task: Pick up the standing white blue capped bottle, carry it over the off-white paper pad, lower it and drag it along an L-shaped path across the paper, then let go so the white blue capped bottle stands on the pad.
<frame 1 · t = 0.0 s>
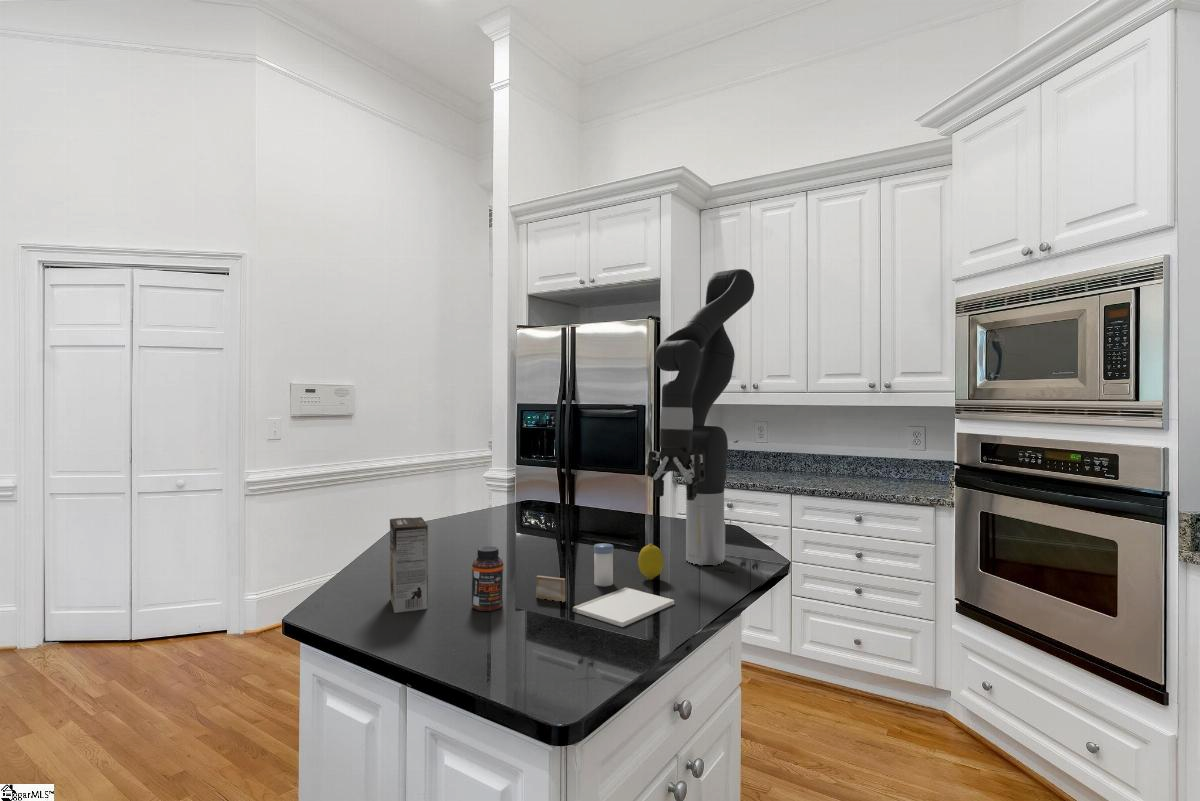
hand: (674, 498, 142), 17 cm above the counter, tool pointing down, fingers open, 8 cm apart
lemon: (650, 580, 137), on the counter
word sign: (550, 599, 123), on the counter
white blue capped bottle: (603, 583, 134), on the counter
paper pad: (624, 607, 119), on the counter
supplement bottle: (487, 608, 119), on the counter
coffee box: (408, 605, 121), on the counter
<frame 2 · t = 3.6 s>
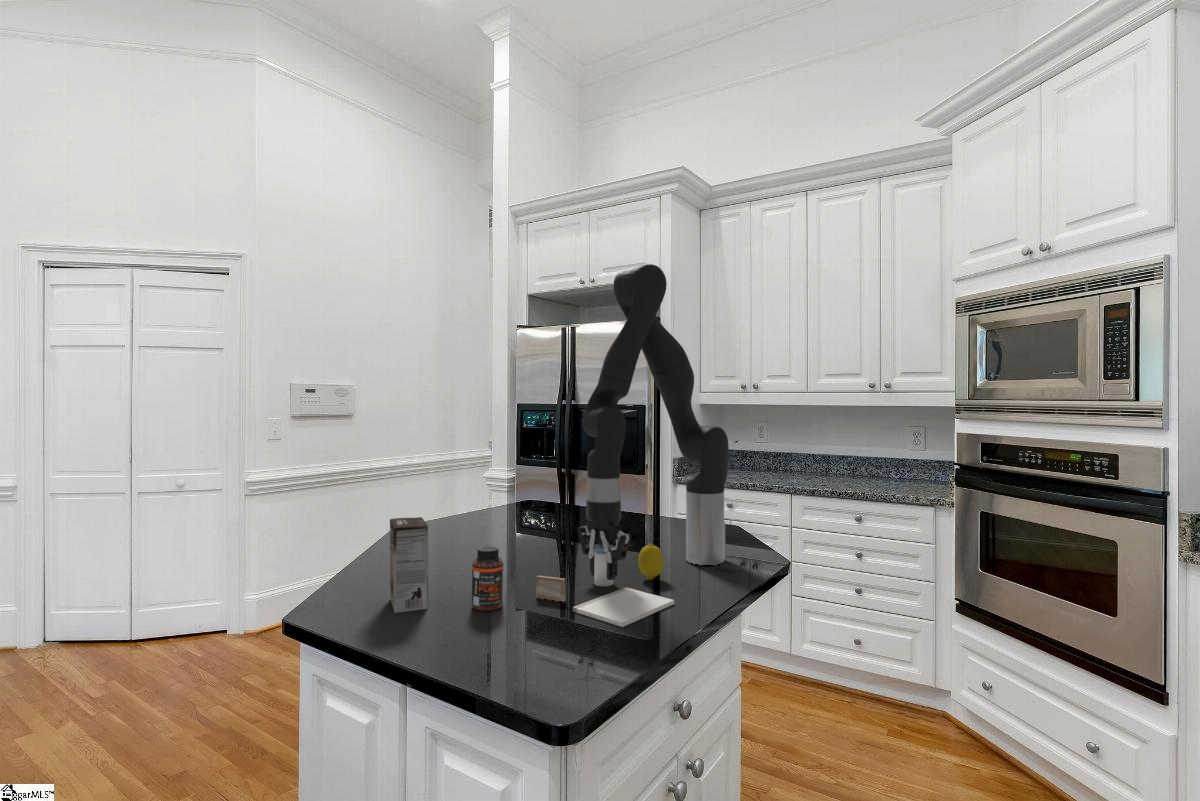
hand: (603, 576, 134), 1 cm above the counter, tool pointing down, fingers closed on white blue capped bottle, 4 cm apart
white blue capped bottle: (603, 583, 134), on the counter, touching gripper
everything else where it was.
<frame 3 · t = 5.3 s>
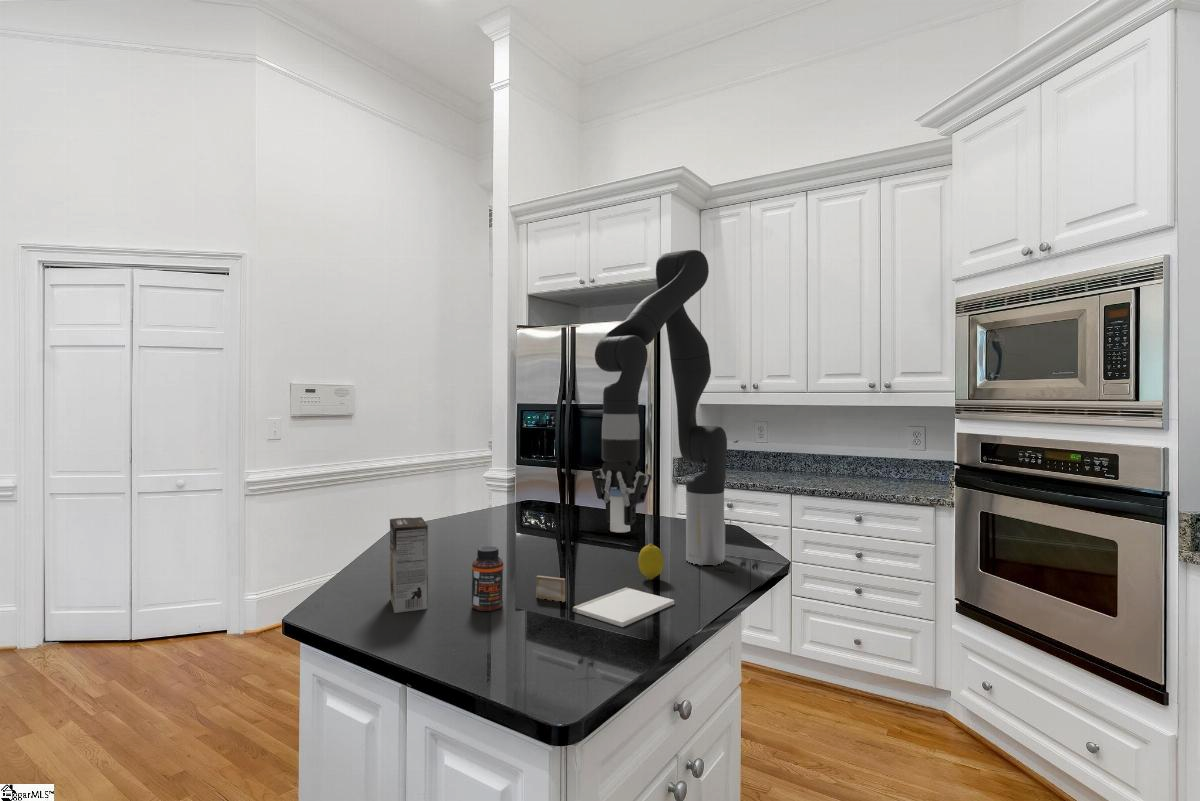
hand: (620, 522, 123), 15 cm above the counter, tool pointing down, fingers closed on white blue capped bottle, 4 cm apart
white blue capped bottle: (620, 530, 123), point 14 cm above the counter, touching gripper
everything else where it was.
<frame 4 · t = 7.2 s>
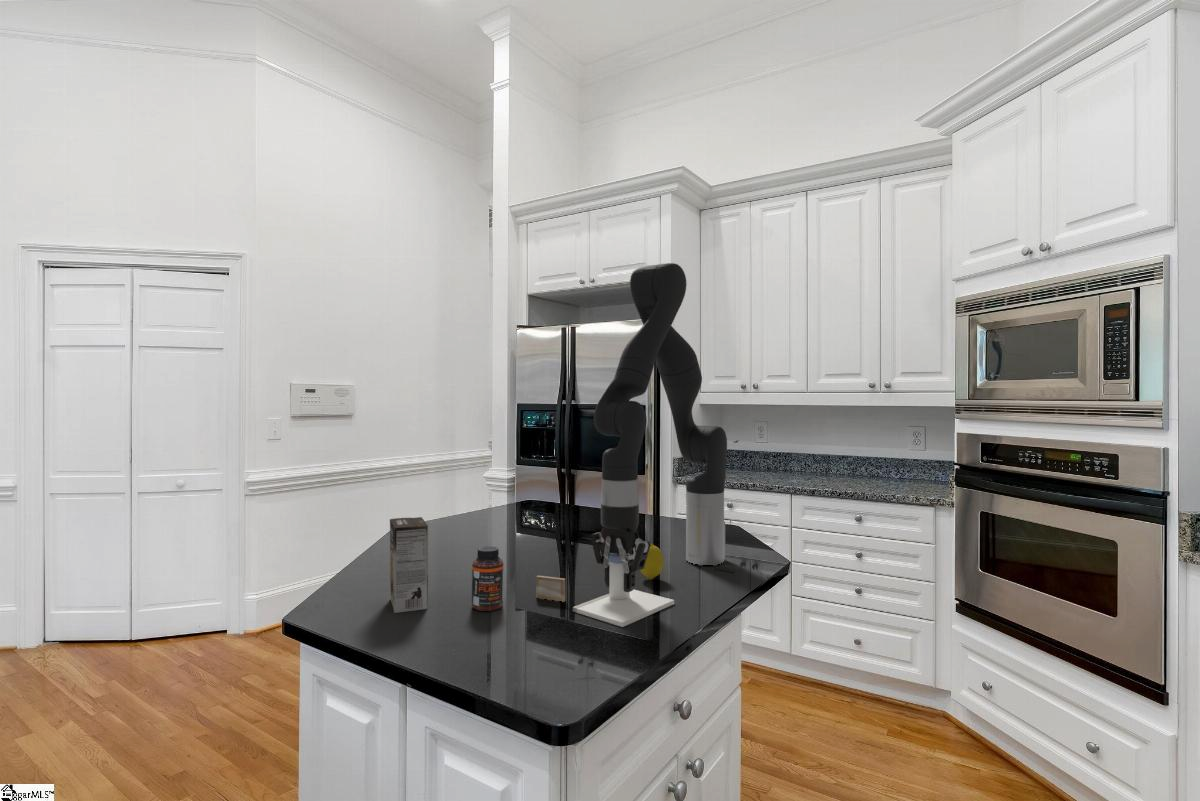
hand: (619, 588, 122), 3 cm above the counter, tool pointing down, fingers closed on white blue capped bottle, 4 cm apart
white blue capped bottle: (619, 595, 122), point 1 cm above the counter, touching gripper
everything else where it was.
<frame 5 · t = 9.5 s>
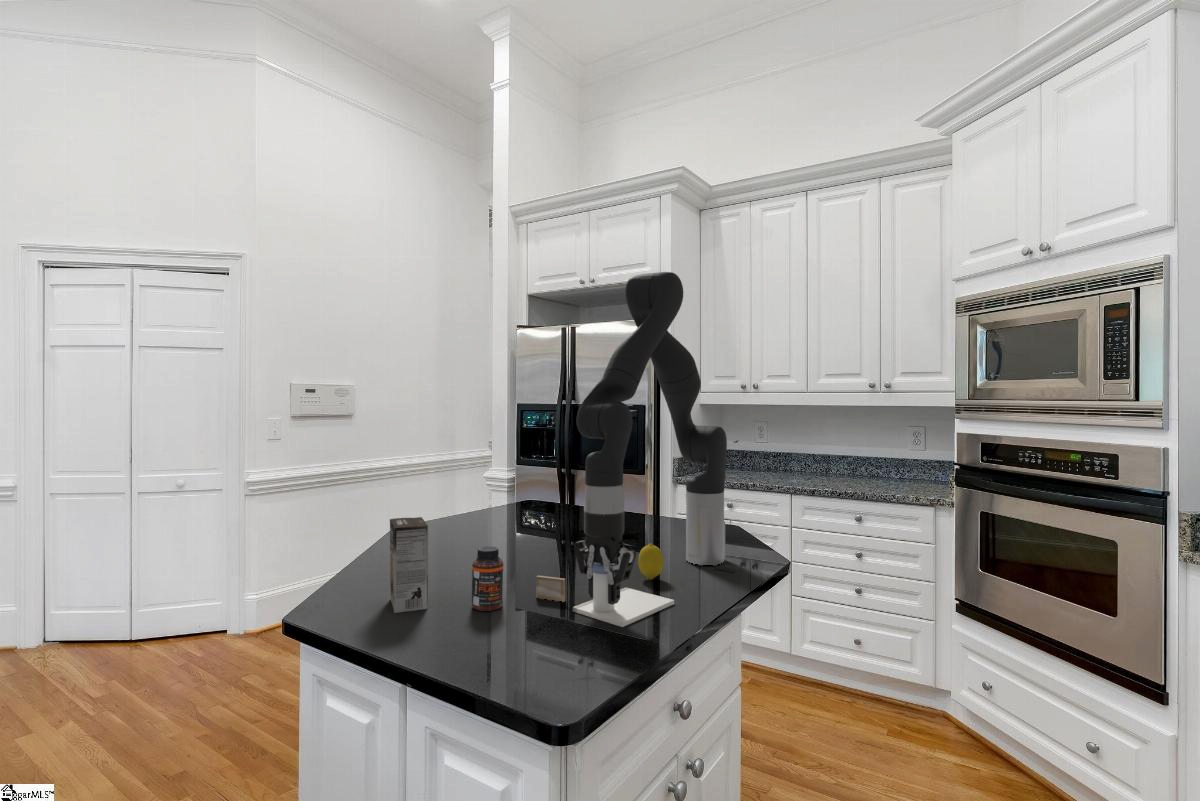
hand: (604, 600, 115), 3 cm above the counter, tool pointing down, fingers closed on white blue capped bottle, 4 cm apart
white blue capped bottle: (603, 608, 115), point 1 cm above the counter, touching gripper
everything else where it was.
when the fingers open (3 cm above the counter, at t = 11.3 s): white blue capped bottle stays where it is, resting on paper pad.
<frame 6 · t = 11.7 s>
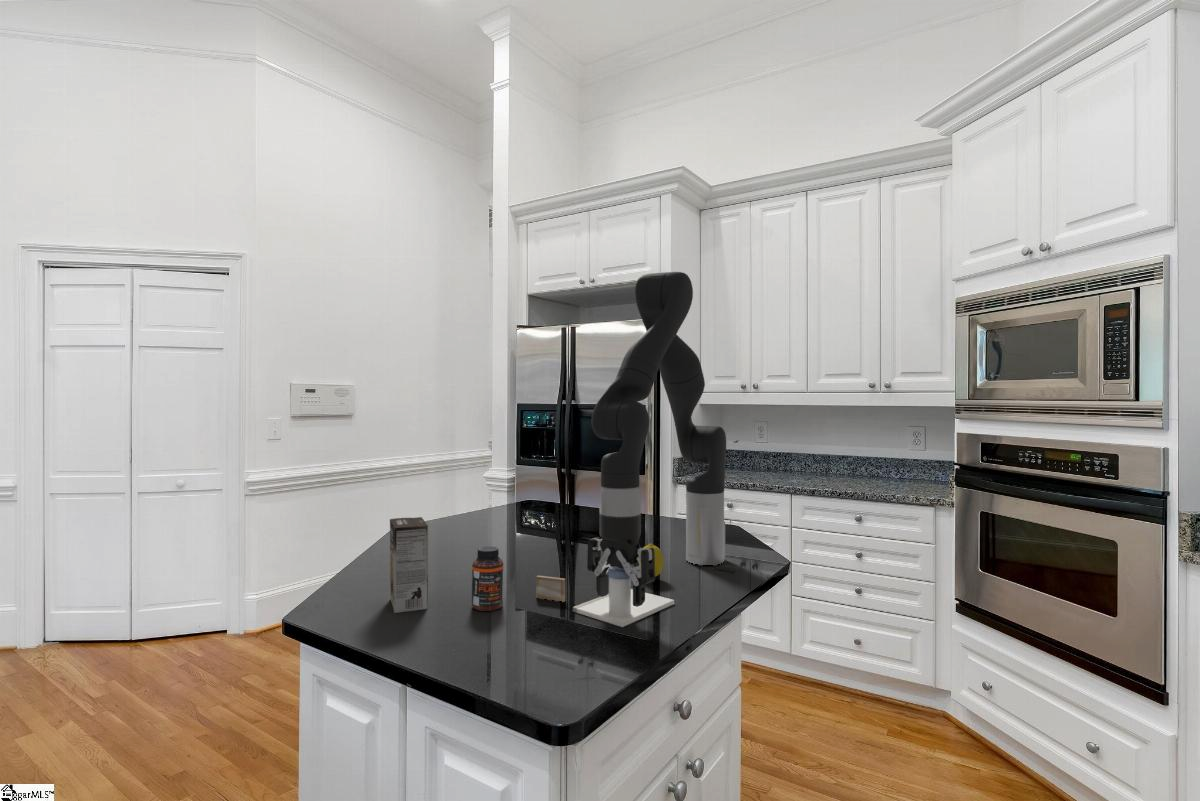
hand: (620, 600, 113), 3 cm above the counter, tool pointing down, fingers open, 8 cm apart
white blue capped bottle: (619, 614, 113), point 1 cm above the counter, touching paper pad
everything else where it was.
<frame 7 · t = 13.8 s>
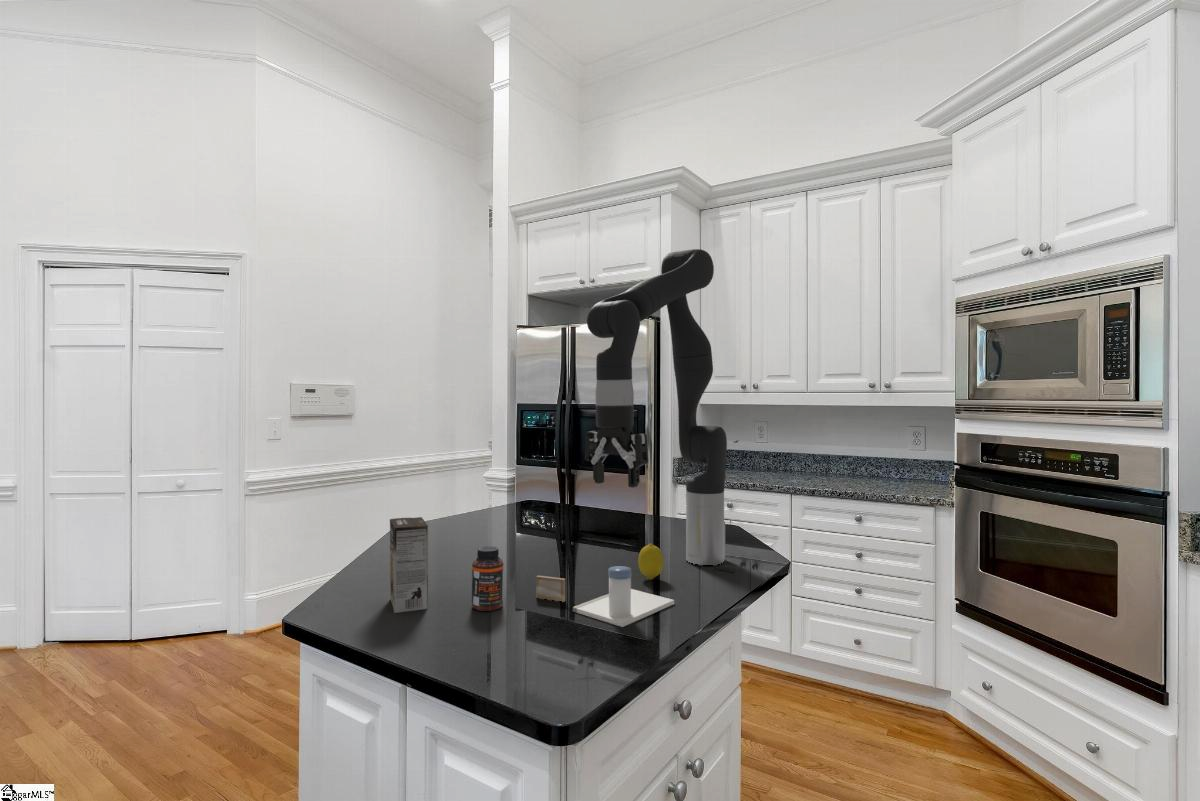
hand: (615, 484, 123), 23 cm above the counter, tool pointing down, fingers open, 8 cm apart
nothing on the counter moved.
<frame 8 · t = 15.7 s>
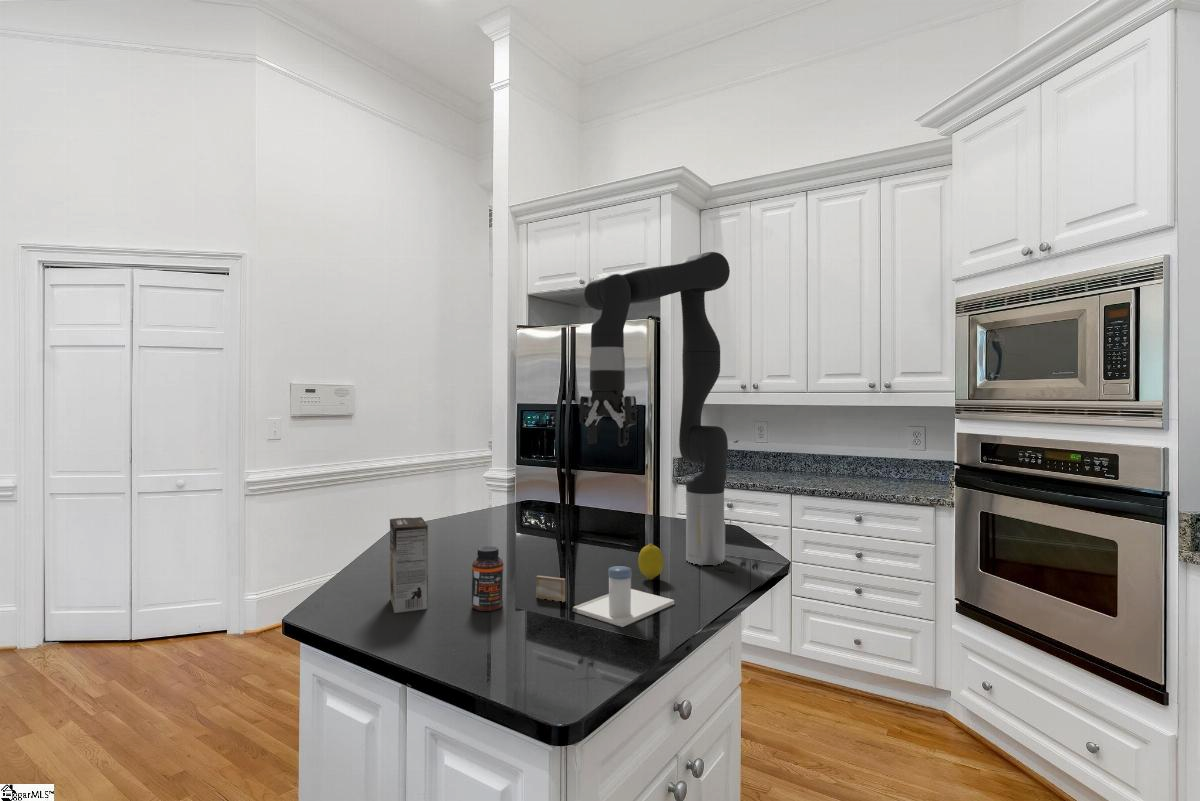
hand: (607, 444, 133), 30 cm above the counter, tool pointing down, fingers open, 8 cm apart
nothing on the counter moved.
at the end: white blue capped bottle inside the target area on the paper pad (0.8 cm from its centre), point 0.8 cm above the paper pad's base; white blue capped bottle tilted 0°; the gripper is holding nothing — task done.
